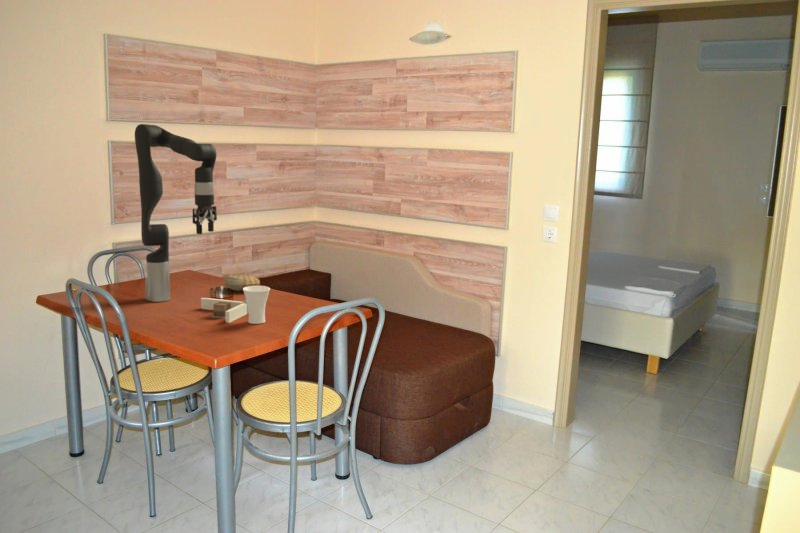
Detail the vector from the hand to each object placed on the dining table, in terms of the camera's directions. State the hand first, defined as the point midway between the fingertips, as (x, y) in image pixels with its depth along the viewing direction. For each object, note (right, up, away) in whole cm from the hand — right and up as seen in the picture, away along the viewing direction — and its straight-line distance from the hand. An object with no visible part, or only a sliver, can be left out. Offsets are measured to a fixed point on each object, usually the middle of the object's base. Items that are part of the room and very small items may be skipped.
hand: (205, 232), depth 273 cm
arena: (+5, -34, -5) cm, 35 cm away
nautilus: (+4, -25, +42) cm, 49 cm away
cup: (+24, -36, -12) cm, 45 cm away
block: (+8, -34, -5) cm, 35 cm away
